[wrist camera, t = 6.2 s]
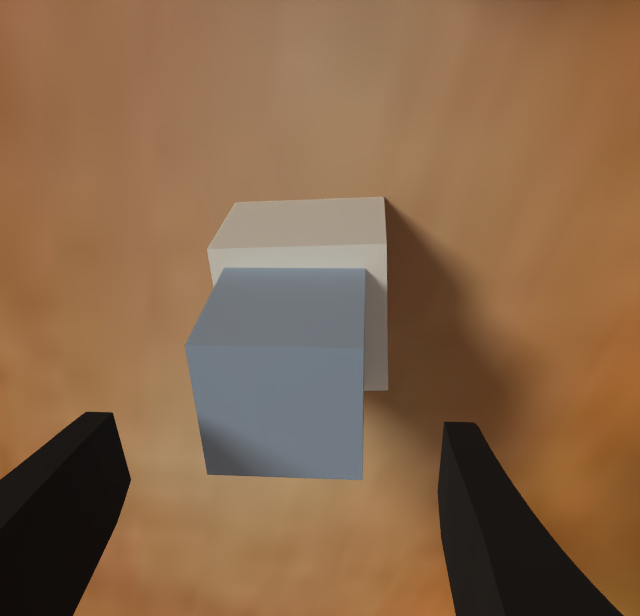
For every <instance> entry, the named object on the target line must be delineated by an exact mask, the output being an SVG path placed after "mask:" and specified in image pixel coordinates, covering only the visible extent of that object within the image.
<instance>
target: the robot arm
mask: <svg viewBox="0 0 640 616" xmlns="http://www.w3.org/2000/svg"><path fill="white" fill-rule="evenodd" d="M130 481H131V478H130V474H129V471H128V467H127V463H126V460H125V456H124V452H123V449H122V445H121V441H120V438H119V434H118V430H117V427H116V423H115V419H114V416H113V413H110V412H85V413H84V414H83V415H81V416H80V417H79V418H77V419H76V420H75V421H73V422H72V423H71V424H70V425H68V426H67V427H66V428H65V429H63V430H62V431H61V432H60V433H58V434H57V435H56V436H55V437H53V438H52V439H51V440H50V441H49V442H47V443H46V444H45V445H44V446H42V447H41V448H40V449H39V450H37V451H36V452H35V453H34V454H32V455H31V456H30V457H29V458H27V459H26V460H25V461H24V462H22V463H21V464H20V465H19V466H17V467H16V468H15V469H14V470H12V471H11V472H10V473H8V474H7V475H6V476H5V477H3V478H2V479H1V480H0V616H73V614H74V612H75V610H76V608H77V606H78V604H79V602H80V600H81V598H82V596H83V593H84V591H85V589H86V587H87V585H88V583H89V581H90V579H91V577H92V575H93V573H94V571H95V569H96V566H97V564H98V562H99V560H100V558H101V556H102V554H103V552H104V550H105V548H106V545H107V543H108V541H109V539H110V537H111V535H112V533H113V530H114V528H115V526H116V524H117V521H118V518H119V515H120V513H121V510H122V507H123V504H124V501H125V497H126V494H127V491H128V488H129V485H130ZM438 502H439V516H440V528H441V539H442V544H443V550H444V555H445V560H446V566H447V571H448V576H449V582H450V587H451V592H452V597H453V603H454V608H455V613H456V616H623V615H622V614H621V613H620V612H619V611H618V610H617V609H616V608H615V607H614V606H613V605H612V604H611V603H610V602H609V601H608V599H607V598H606V597H605V596H604V595H603V594H602V593H601V592H600V591H599V590H598V589H597V588H596V587H595V586H594V585H593V584H592V583H591V582H590V581H589V579H588V578H587V577H586V576H585V575H584V574H583V573H582V572H581V571H580V569H579V568H578V567H577V566H576V565H575V564H574V563H573V562H572V560H571V559H570V558H569V557H568V556H567V555H566V553H565V552H564V551H563V550H562V549H561V547H560V546H559V545H558V544H557V543H556V541H555V540H554V539H553V538H552V536H551V535H550V534H549V532H548V531H547V530H546V529H545V527H544V526H543V525H542V524H541V522H540V521H539V520H538V518H537V517H536V516H535V514H534V513H533V512H532V510H531V509H530V508H529V506H528V505H527V503H526V502H525V500H524V499H523V498H522V496H521V495H520V493H519V492H518V490H517V489H516V488H515V486H514V485H513V483H512V482H511V480H510V479H509V477H508V476H507V474H506V473H505V471H504V470H503V468H502V466H501V465H500V463H499V462H498V460H497V459H496V457H495V455H494V454H493V452H492V450H491V449H490V447H489V445H488V443H487V442H486V440H485V438H484V436H483V434H482V433H481V431H480V429H479V427H478V426H477V425H476V424H475V423H469V422H444V430H443V441H442V451H441V462H440V472H439V483H438Z"/></svg>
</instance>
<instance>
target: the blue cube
mask: <svg viewBox="0 0 640 616" xmlns="http://www.w3.org/2000/svg"><path fill="white" fill-rule="evenodd" d="M364 347H365V268H224V269H223V271H222V273H221V275H220V277H219V279H218V281H217V283H216V285H215V287H214V289H213V291H212V293H211V294H210V296H209V298H208V300H207V302H206V304H205V306H204V308H203V310H202V312H201V314H200V316H199V318H198V320H197V322H196V324H195V326H194V328H193V330H192V332H191V334H190V336H189V338H188V340H187V342H186V344H185V349H186V355H187V361H188V366H189V372H190V378H191V383H192V389H193V395H194V400H195V406H196V412H197V418H198V423H199V429H200V435H201V440H202V446H203V452H204V458H205V463H206V469H207V475H234V476H262V477H289V478H317V479H345V480H362V478H363V421H364Z"/></svg>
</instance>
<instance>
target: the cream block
mask: <svg viewBox="0 0 640 616" xmlns="http://www.w3.org/2000/svg"><path fill="white" fill-rule="evenodd" d="M207 252H208V258H209V263H210V269H211V275H212V280H213V286H214V287H215V285H216V283H217V281H218V279H219V277H220V275H221V273H222V271H223V269H224V268H365V347H364V391H388V327H387V241H386V223H385V205H384V197H364V198H338V199H312V200H286V201H260V202H235V204H234V205H233V207H232V209H231V210H230V212H229V214H228V215H227V217H226V218H225V220H224V222H223V223H222V225H221V227H220V228H219V230H218V232H217V233H216V235H215V237H214V238H213V240H212V242H211V243H210V245H209V247H208V248H207Z"/></svg>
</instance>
